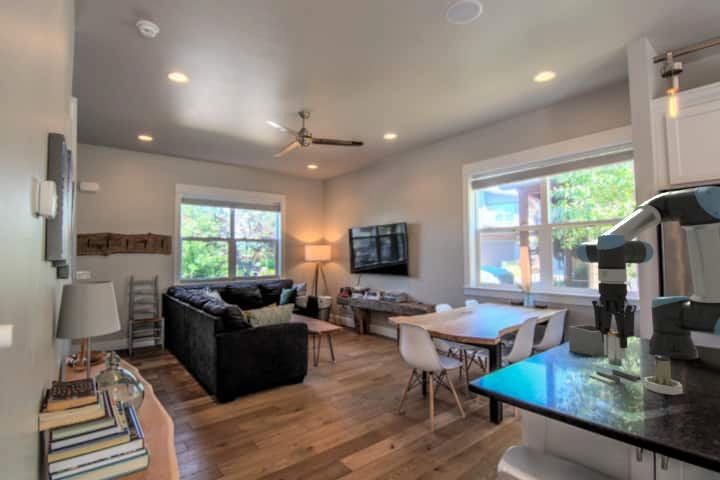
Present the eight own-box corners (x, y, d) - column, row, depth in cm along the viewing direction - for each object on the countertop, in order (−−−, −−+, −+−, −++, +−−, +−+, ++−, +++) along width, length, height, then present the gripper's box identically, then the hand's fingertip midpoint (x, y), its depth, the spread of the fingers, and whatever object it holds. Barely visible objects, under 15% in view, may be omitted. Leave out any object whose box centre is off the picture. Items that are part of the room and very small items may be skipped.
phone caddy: (591, 347, 156) (590, 324, 156) (616, 355, 145) (615, 329, 145) (569, 350, 153) (568, 326, 153) (593, 357, 142) (592, 332, 142)
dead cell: (658, 388, 108) (656, 354, 109) (673, 391, 105) (671, 357, 106) (653, 390, 106) (651, 356, 107) (668, 394, 103) (666, 359, 104)
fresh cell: (605, 363, 116) (604, 331, 117) (614, 362, 117) (612, 330, 118) (616, 366, 113) (615, 333, 113) (625, 365, 114) (623, 333, 114)
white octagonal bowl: (658, 387, 110) (657, 375, 110) (689, 397, 102) (688, 384, 103) (638, 390, 108) (637, 378, 108) (667, 401, 100) (667, 388, 100)
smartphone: (610, 352, 151) (609, 349, 151) (597, 359, 141) (597, 356, 141) (588, 348, 157) (588, 345, 157) (574, 355, 147) (574, 352, 147)
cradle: (618, 375, 121) (617, 366, 122) (649, 385, 112) (648, 375, 112) (585, 379, 118) (584, 370, 118) (614, 391, 108) (613, 380, 108)
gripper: (580, 280, 123) (583, 350, 122) (628, 284, 107) (631, 365, 106) (598, 280, 125) (600, 348, 124) (647, 284, 109) (650, 362, 108)
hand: (614, 356), depth 115 cm, fingers closed on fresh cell, 3 cm apart
